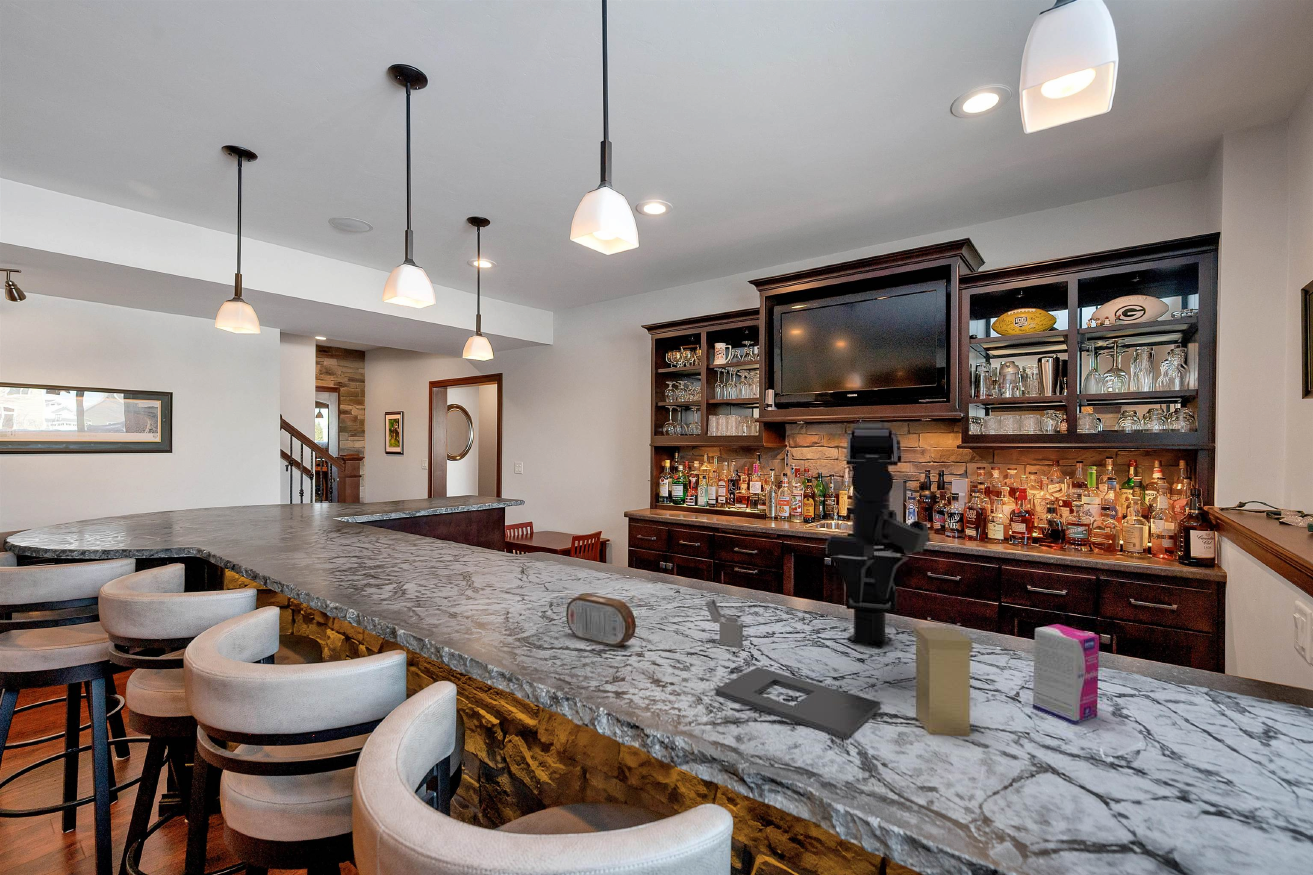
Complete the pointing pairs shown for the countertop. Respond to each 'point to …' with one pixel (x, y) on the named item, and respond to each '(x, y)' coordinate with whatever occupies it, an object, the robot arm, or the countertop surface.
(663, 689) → the countertop surface
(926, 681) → the tan square peg
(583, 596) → the tin
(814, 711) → the grey plate with hole
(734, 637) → the lighter
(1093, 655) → the supplement box
